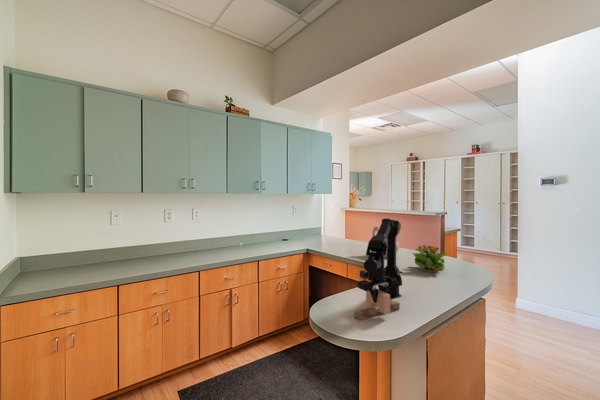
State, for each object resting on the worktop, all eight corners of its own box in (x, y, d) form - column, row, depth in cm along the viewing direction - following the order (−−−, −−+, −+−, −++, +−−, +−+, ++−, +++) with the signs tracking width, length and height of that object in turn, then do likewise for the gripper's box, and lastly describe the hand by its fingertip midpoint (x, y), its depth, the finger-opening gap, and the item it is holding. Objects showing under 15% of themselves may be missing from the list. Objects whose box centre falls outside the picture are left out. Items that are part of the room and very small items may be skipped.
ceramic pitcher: (372, 259, 228) (372, 229, 225) (372, 252, 247) (372, 225, 244) (399, 260, 223) (400, 230, 220) (397, 253, 242) (397, 225, 239)
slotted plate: (371, 303, 128) (371, 286, 128) (390, 313, 118) (390, 294, 118) (366, 304, 127) (366, 287, 127) (384, 314, 116) (384, 295, 116)
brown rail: (395, 307, 129) (395, 301, 129) (399, 309, 127) (399, 302, 127) (354, 318, 118) (354, 311, 118) (358, 320, 116) (358, 313, 116)
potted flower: (454, 276, 174) (455, 249, 174) (415, 275, 179) (415, 248, 179) (442, 266, 199) (442, 242, 198) (408, 265, 204) (408, 241, 203)
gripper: (380, 260, 133) (380, 292, 134) (349, 265, 125) (349, 299, 125) (398, 266, 123) (398, 300, 124) (365, 272, 115) (365, 308, 115)
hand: (377, 301), depth 122 cm, fingers closed on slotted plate, 3 cm apart
